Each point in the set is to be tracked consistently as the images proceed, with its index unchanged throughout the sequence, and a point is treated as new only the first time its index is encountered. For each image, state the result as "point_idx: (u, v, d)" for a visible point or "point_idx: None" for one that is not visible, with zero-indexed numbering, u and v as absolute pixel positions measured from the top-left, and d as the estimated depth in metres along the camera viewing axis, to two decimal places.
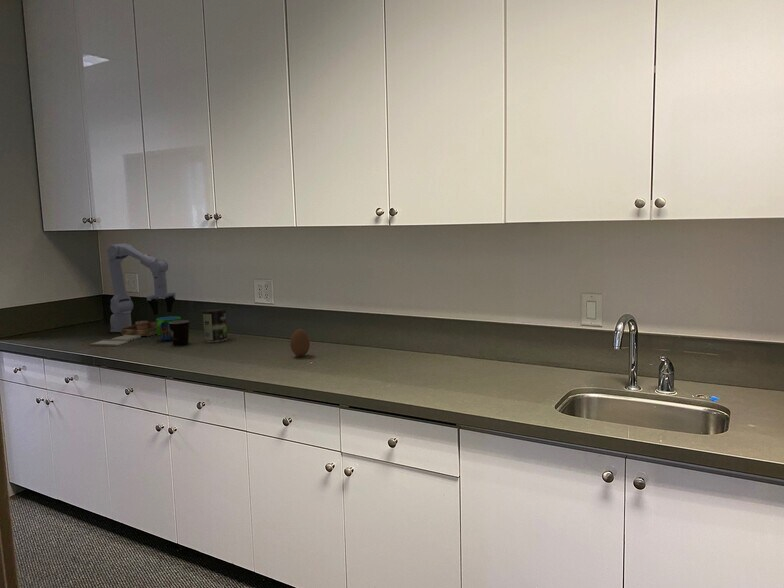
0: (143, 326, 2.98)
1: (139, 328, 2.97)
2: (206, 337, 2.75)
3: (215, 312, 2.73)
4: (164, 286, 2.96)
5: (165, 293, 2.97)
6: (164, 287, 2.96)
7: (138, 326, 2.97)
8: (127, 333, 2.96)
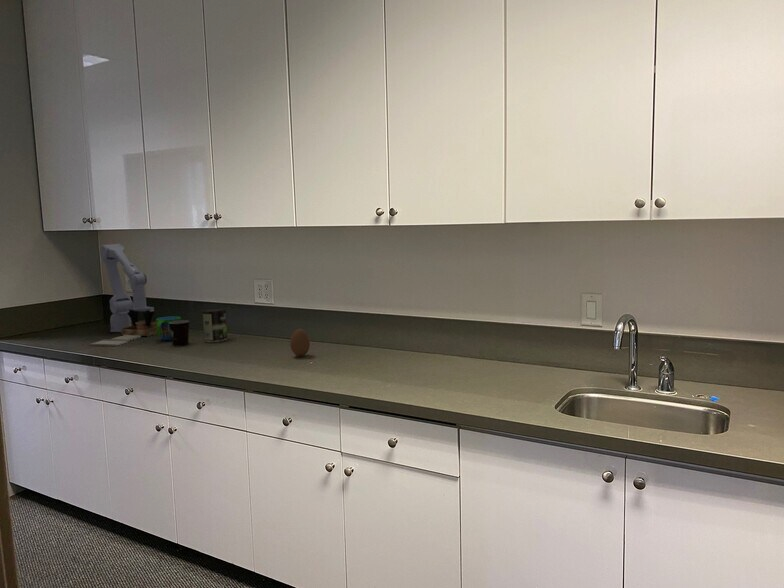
0: (143, 326, 2.98)
1: (139, 328, 2.97)
2: (206, 337, 2.75)
3: (215, 312, 2.73)
4: (135, 299, 2.95)
5: (136, 306, 2.95)
6: (135, 300, 2.95)
7: (138, 326, 2.97)
8: (127, 333, 2.96)
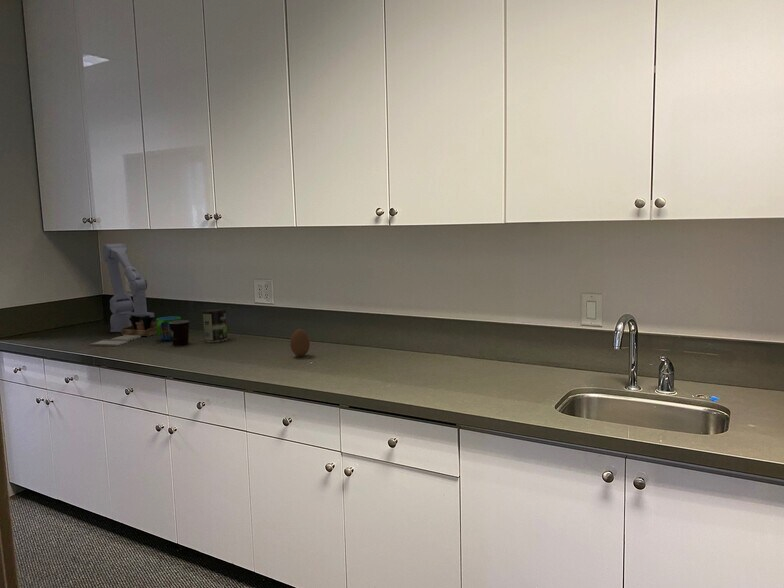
0: (143, 326, 2.98)
1: (139, 328, 2.97)
2: (206, 337, 2.75)
3: (215, 312, 2.73)
4: (136, 305, 2.95)
5: (137, 312, 2.96)
6: (136, 306, 2.95)
7: (138, 326, 2.97)
8: (127, 333, 2.96)
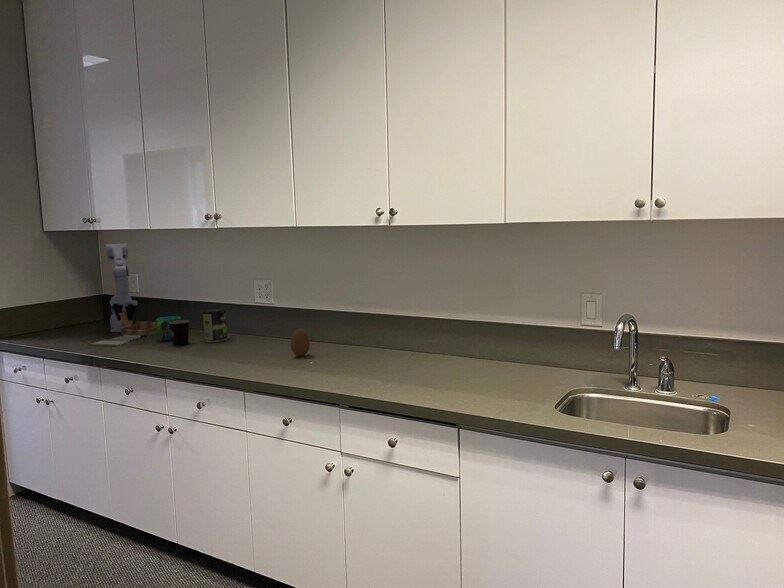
0: None
1: (123, 318, 2.86)
2: (206, 337, 2.75)
3: (215, 312, 2.73)
4: (118, 292, 2.83)
5: (119, 300, 2.84)
6: (118, 293, 2.83)
7: (122, 316, 2.86)
8: (127, 333, 2.96)
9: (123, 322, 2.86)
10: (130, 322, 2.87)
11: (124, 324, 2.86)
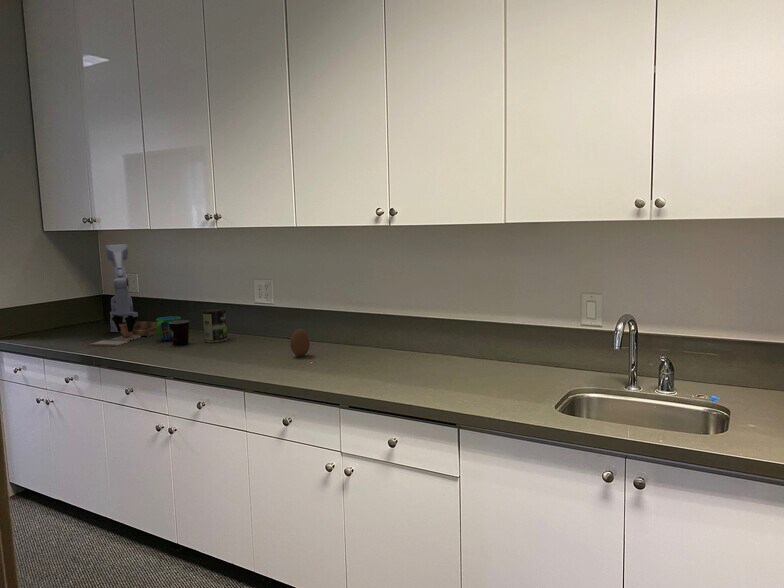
0: None
1: (123, 330, 2.86)
2: (206, 337, 2.75)
3: (215, 312, 2.73)
4: (118, 304, 2.83)
5: (119, 311, 2.84)
6: (118, 305, 2.84)
7: (122, 328, 2.86)
8: None
9: (123, 333, 2.86)
10: (130, 333, 2.88)
11: (124, 335, 2.87)
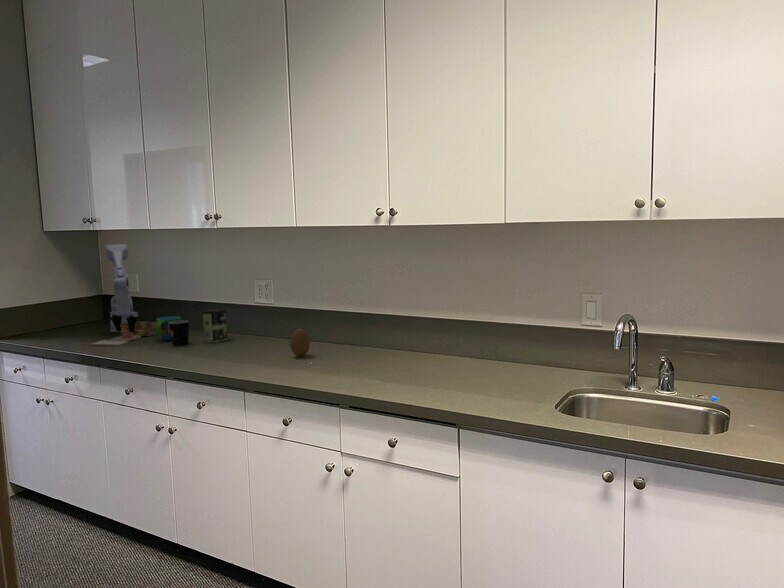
0: (128, 328, 2.87)
1: (124, 330, 2.86)
2: (206, 337, 2.75)
3: (215, 312, 2.73)
4: (118, 304, 2.83)
5: (119, 311, 2.84)
6: (118, 305, 2.83)
7: (123, 328, 2.86)
8: None
9: (124, 334, 2.87)
10: (130, 335, 2.88)
11: (124, 336, 2.87)
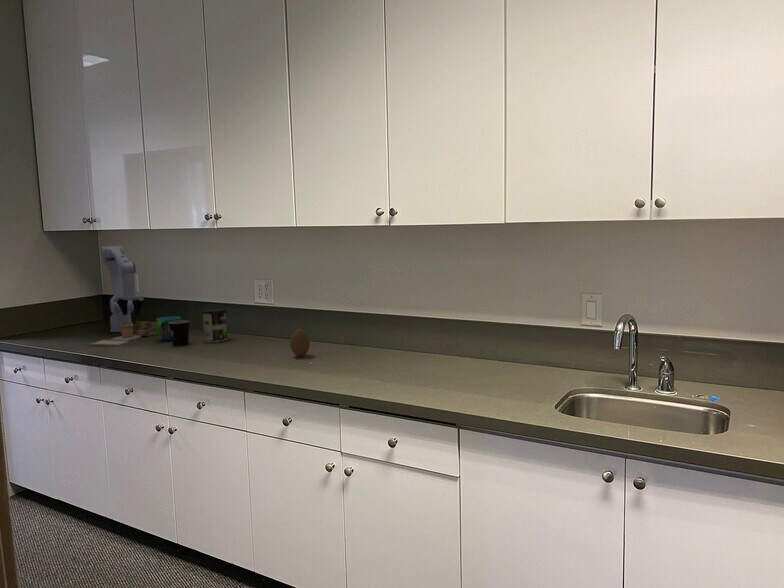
0: (128, 328, 2.87)
1: (124, 330, 2.86)
2: (206, 337, 2.75)
3: (215, 312, 2.73)
4: (124, 288, 2.92)
5: (126, 295, 2.93)
6: (125, 289, 2.92)
7: (123, 328, 2.86)
8: None
9: (124, 334, 2.87)
10: (130, 335, 2.88)
11: (124, 336, 2.87)
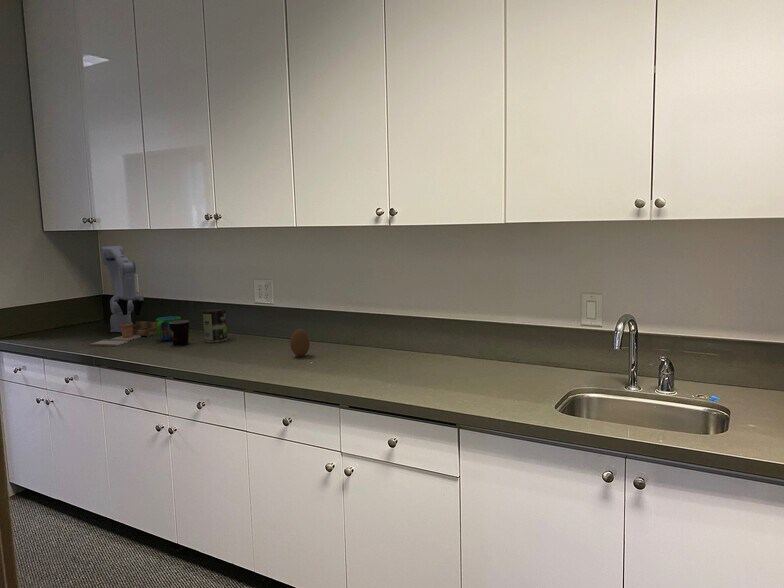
0: (128, 328, 2.87)
1: (124, 330, 2.86)
2: (206, 337, 2.75)
3: (215, 312, 2.73)
4: (124, 288, 2.92)
5: (126, 295, 2.93)
6: (125, 289, 2.92)
7: (123, 328, 2.86)
8: None
9: (124, 334, 2.87)
10: (131, 334, 2.88)
11: (124, 336, 2.87)
